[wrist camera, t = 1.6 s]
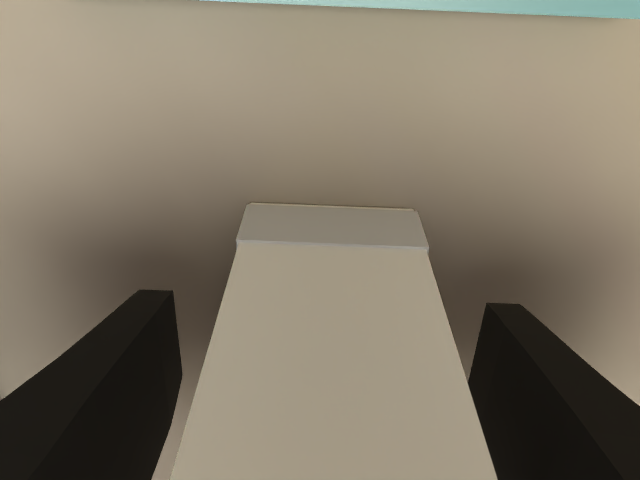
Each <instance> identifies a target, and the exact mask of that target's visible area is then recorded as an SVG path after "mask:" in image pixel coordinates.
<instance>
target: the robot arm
mask: <svg viewBox="0 0 640 480" xmlns="http://www.w3.org/2000/svg"><path fill="white" fill-rule="evenodd" d="M181 380H182V366H181V357H180V349H179V340H178V331H177V323H176V314H175V305H174V297H173V291H163V290H139V291H137V292H136V293H135V294H134V295H132V296H131V297H130V298H129V299H128V300H126V301H125V302H124V303H123V304H122V305H121V306H119V307H118V308H117V309H116V310H115V311H114V312H112V313H111V314H110V315H109V316H108V317H107V318H105V319H104V320H103V321H102V322H101V323H99V324H98V325H97V326H96V327H95V328H94V329H92V330H91V331H90V332H89V333H88V334H86V335H85V336H84V337H83V338H81V339H80V340H79V341H78V342H77V343H75V344H74V345H73V346H72V347H71V348H69V349H68V350H67V351H66V352H64V353H63V354H62V355H61V356H60V357H58V358H57V359H56V360H54V361H53V362H52V363H50V364H49V365H48V366H46V367H45V368H44V369H42V370H41V371H40V372H38V373H37V374H36V375H34V376H33V377H32V378H30V379H29V380H28V381H26V382H25V383H24V384H22V385H21V386H20V387H18V388H17V389H16V390H14V391H13V392H12V393H10V394H9V395H8V396H6V397H5V398H4V399H2V400H1V401H0V480H151V479H152V476H153V473H154V471H155V468H156V465H157V462H158V460H159V457H160V454H161V451H162V449H163V446H164V443H165V440H166V438H167V435H168V432H169V429H170V426H171V423H172V419H173V415H174V410H175V406H176V402H177V398H178V393H179V389H180V384H181ZM468 386H469V389H470V392H471V396H472V399H473V402H474V405H475V409H476V412H477V415H478V418H479V421H480V425H481V428H482V431H483V434H484V437H485V441H486V444H487V447H488V450H489V454H490V457H491V460H492V463H493V466H494V470H495V473H496V476H497V479H498V480H640V406H639V405H637V404H636V403H635V402H633V401H632V400H631V399H630V398H628V397H627V396H626V395H625V394H624V393H622V392H621V391H620V390H619V389H617V388H616V387H615V386H614V385H613V384H611V383H610V382H609V381H608V380H607V379H605V378H604V377H603V376H602V375H601V374H599V373H598V372H597V371H596V370H595V369H594V368H592V367H591V366H590V365H589V364H588V363H587V362H585V361H584V360H583V359H582V358H581V357H580V356H579V355H577V354H576V353H575V352H574V351H573V350H572V349H571V348H570V347H568V346H567V345H566V344H565V343H564V342H563V341H562V340H561V339H559V338H558V337H557V336H556V335H555V334H554V333H553V332H552V331H550V330H549V329H548V328H547V327H546V326H545V325H544V324H543V323H541V322H540V321H539V320H538V319H537V318H536V317H535V316H533V315H532V314H531V313H530V312H529V311H527V310H526V309H525V308H524V307H523V306H521V305H520V304H501V303H486V307H485V312H484V316H483V320H482V325H481V329H480V333H479V338H478V342H477V346H476V351H475V355H474V359H473V364H472V368H471V372H470V377H469V381H468Z"/></svg>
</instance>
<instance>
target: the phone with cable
mask: <svg viewBox="0 0 640 480" xmlns="http://www.w3.org/2000/svg"><path fill="white" fill-rule="evenodd" d="M201 1H225V2H248V3H272V4H296V5H319V6H343V7H367V8H390V9H414V10H437V11H461V12H485V13H508V14H532V15H555V16H579V17H603V18H626V19H640V0H201Z"/></svg>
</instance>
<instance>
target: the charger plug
mask: <svg viewBox="0 0 640 480" xmlns="http://www.w3.org/2000/svg"><path fill="white" fill-rule="evenodd" d="M428 253H429V245H428V242H427V238H426V235H425V232H424V229H423V226H422V223H421V220H420V217H419V214H418V211H414V209H402V208H377V207H352V206H327V205H301V204H276V203H250V204H247V205H246V208H245V212H244V215H243V218H242V222H241V225H240V228H239V231H238V235H237V238H236V254H235V258H234V261H233V265H232V268H231V271H230V275H229V278H228V282H227V285H226V289H225V292H224V295H223V299H222V302H221V306H220V309H219V313H218V316H217V319H216V323H215V326H214V330H213V333H212V337H211V340H210V343H209V347H208V350H207V354H206V357H205V361H204V364H203V367H202V371H201V374H200V378H199V381H198V384H197V388H196V391H195V395H194V398H193V402H192V405H191V408H190V412H189V415H188V419H187V422H186V426H185V429H184V432H183V436H182V439H181V443H180V446H179V450H178V453H177V456H176V460H175V463H174V467H173V470H172V474H171V477H170V480H498V479H497V476H496V473H495V470H494V466H493V463H492V460H491V457H490V454H489V450H488V447H487V444H486V441H485V437H484V434H483V431H482V428H481V425H480V421H479V418H478V415H477V412H476V409H475V405H474V402H473V399H472V396H471V392H470V389H469V386H468V383H467V380H466V376H465V373H464V370H463V367H462V364H461V360H460V357H459V354H458V351H457V348H456V344H455V341H454V338H453V335H452V331H451V328H450V325H449V322H448V319H447V315H446V312H445V309H444V306H443V303H442V299H441V296H440V293H439V290H438V286H437V283H436V280H435V277H434V274H433V270H432V267H431V264H430V261H429V258H428Z"/></svg>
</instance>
